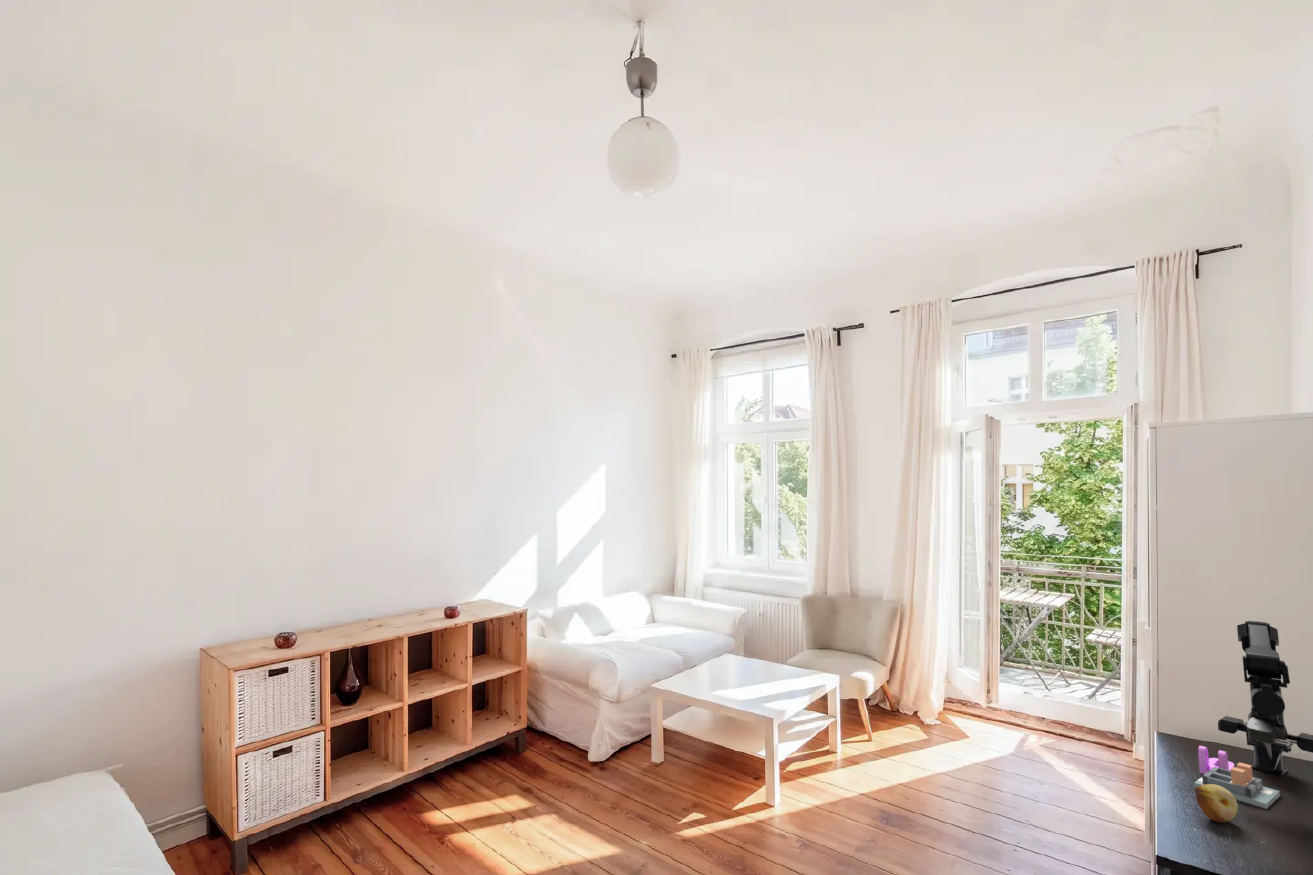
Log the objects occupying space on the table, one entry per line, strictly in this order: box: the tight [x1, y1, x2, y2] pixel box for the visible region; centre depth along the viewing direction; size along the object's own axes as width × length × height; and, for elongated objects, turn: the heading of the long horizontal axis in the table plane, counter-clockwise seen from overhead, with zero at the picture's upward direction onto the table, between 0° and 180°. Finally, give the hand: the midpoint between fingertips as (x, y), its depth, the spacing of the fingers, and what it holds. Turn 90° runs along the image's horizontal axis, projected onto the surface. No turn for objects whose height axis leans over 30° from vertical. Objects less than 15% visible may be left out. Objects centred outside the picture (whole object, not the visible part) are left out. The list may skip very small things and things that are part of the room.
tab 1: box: [1230, 766, 1249, 787], centre depth 161 cm, size 3×3×5 cm
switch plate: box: [1194, 766, 1281, 810], centre depth 164 cm, size 12×14×3 cm
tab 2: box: [1236, 762, 1256, 782], centre depth 164 cm, size 3×3×5 cm
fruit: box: [1194, 784, 1239, 823], centre depth 149 cm, size 8×8×8 cm
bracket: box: [1197, 745, 1236, 775], centre depth 177 cm, size 13×6×7 cm, turn 128°
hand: (1272, 769), depth 156 cm, fingers closed
